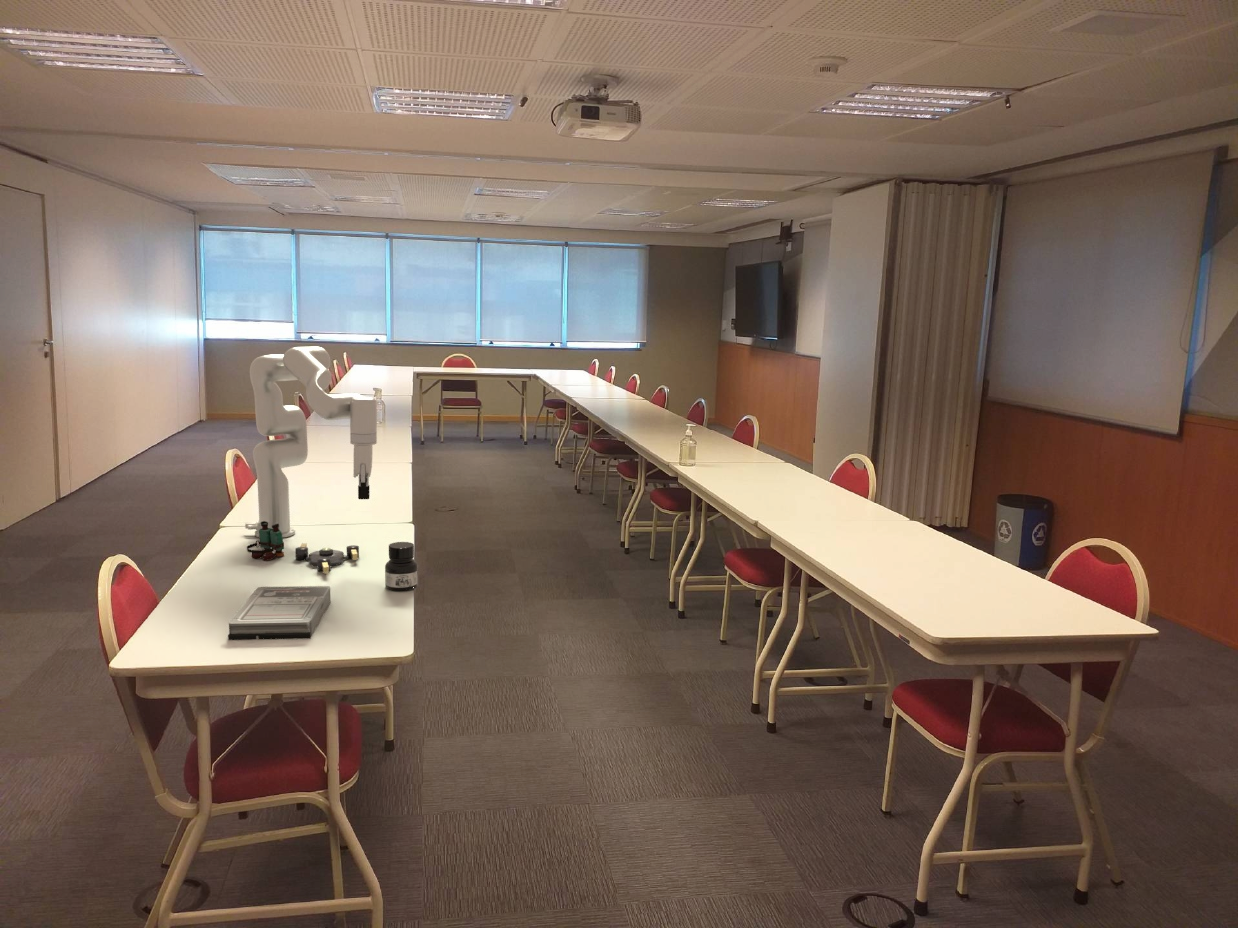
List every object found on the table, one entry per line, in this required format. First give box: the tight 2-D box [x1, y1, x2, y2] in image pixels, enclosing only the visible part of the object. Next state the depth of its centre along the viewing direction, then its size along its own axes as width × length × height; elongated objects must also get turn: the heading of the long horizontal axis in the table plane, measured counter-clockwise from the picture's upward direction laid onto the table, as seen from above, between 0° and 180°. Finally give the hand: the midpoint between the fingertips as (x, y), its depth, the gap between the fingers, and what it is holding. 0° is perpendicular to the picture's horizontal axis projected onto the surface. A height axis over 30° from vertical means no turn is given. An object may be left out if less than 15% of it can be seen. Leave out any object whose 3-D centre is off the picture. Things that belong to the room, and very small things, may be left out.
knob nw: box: [295, 542, 309, 562], centre depth 274 cm, size 9×4×3 cm, turn 13°
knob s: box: [317, 558, 332, 574], centre depth 258 cm, size 9×4×3 cm, turn 23°
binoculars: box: [246, 521, 285, 562], centre depth 271 cm, size 9×11×10 cm
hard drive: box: [227, 585, 332, 641], centre depth 221 cm, size 18×27×4 cm
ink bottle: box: [384, 541, 419, 592], centre depth 247 cm, size 10×9×12 cm
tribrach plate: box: [305, 547, 348, 568], centre depth 268 cm, size 12×11×4 cm
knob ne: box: [346, 544, 360, 561], centre depth 272 cm, size 9×4×3 cm, turn 22°
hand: (363, 498), depth 269 cm, fingers closed
